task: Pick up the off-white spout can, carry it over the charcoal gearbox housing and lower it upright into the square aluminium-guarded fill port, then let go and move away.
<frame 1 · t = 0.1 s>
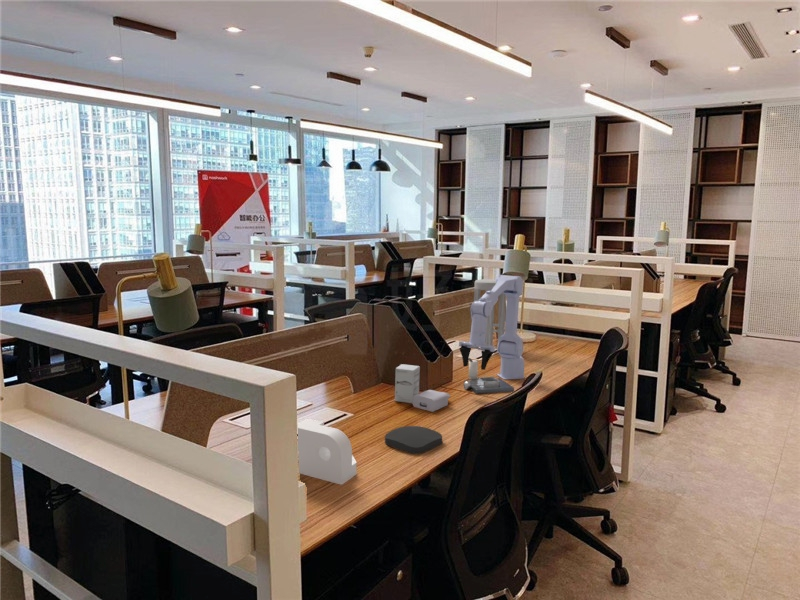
hand: (474, 367, 228), 11 cm above the table, tool pointing down, fingers open, 7 cm apart
charger: (435, 405, 217), on the table
spout can: (473, 378, 252), on the table
supplement box: (406, 400, 222), on the table
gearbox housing: (488, 387, 238), on the table
media streaming box: (413, 443, 181), on the table
stool: (487, 348, 309), on the table
tape dispenser: (327, 471, 160), on the table
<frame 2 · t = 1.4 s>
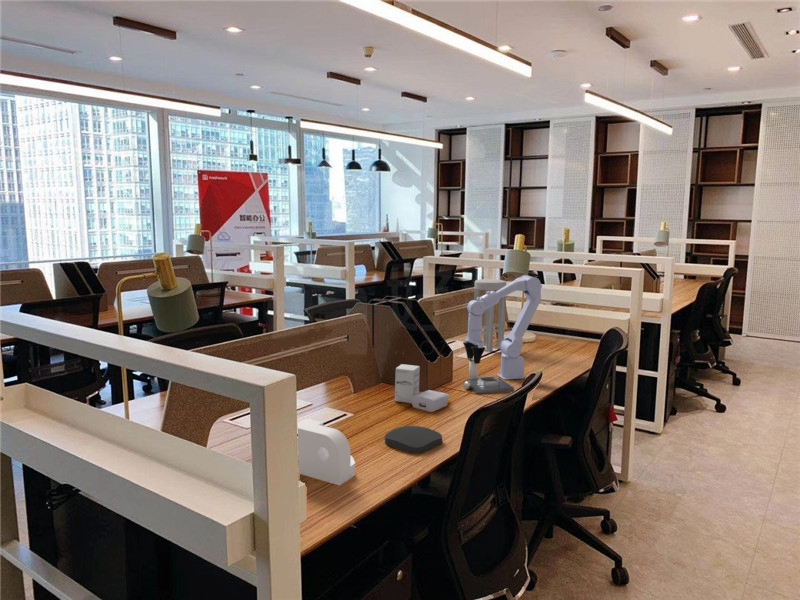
hand: (473, 361, 250), 8 cm above the table, tool pointing down, fingers open, 7 cm apart
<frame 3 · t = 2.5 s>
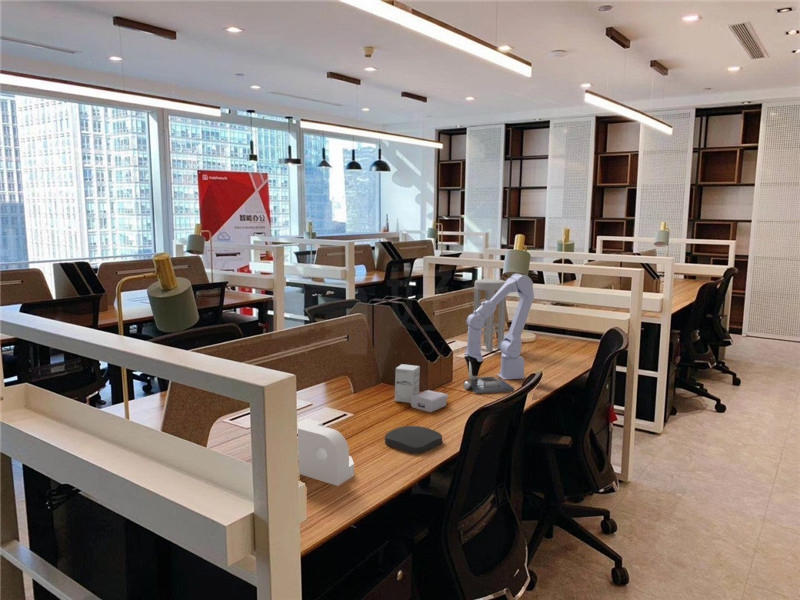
hand: (473, 374, 251), 2 cm above the table, tool pointing down, fingers closed on spout can, 4 cm apart
spout can: (472, 378, 251), on the table, touching gripper
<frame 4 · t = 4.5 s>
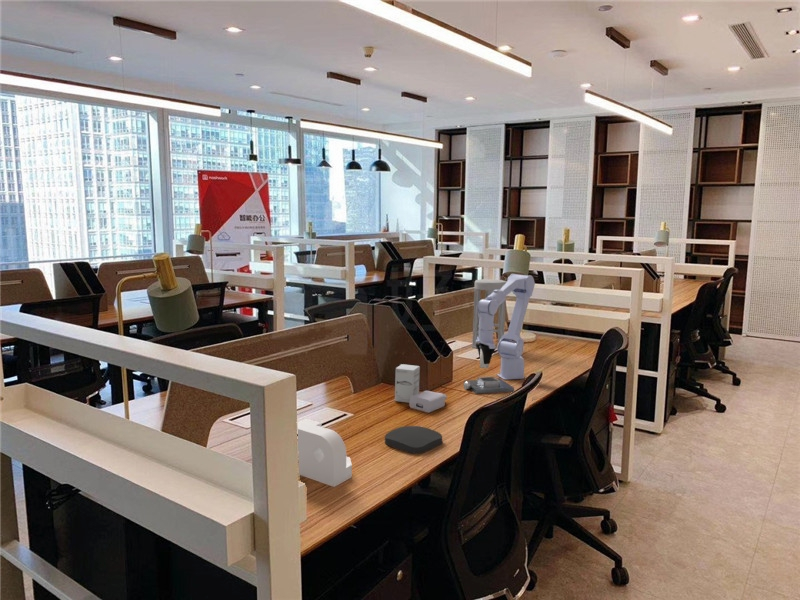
hand: (484, 362, 240), 9 cm above the table, tool pointing down, fingers closed on spout can, 4 cm apart
spout can: (484, 367, 241), point 8 cm above the table, touching gripper
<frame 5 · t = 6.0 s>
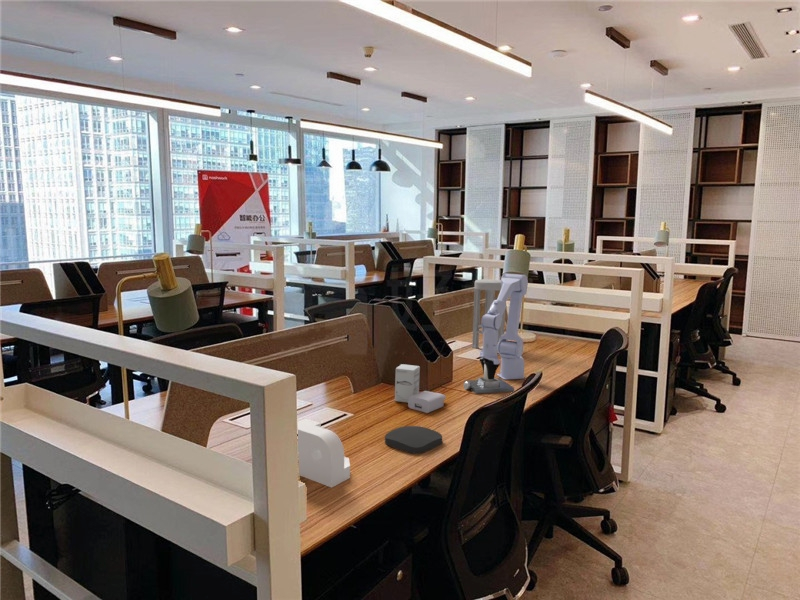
hand: (488, 377, 238), 4 cm above the table, tool pointing down, fingers closed on spout can, 4 cm apart
spout can: (488, 382, 238), point 2 cm above the table, touching gripper
when the fingers open (4 cm above the table, at t = 6.5 s): spout can drops 2 cm, resting in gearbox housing.
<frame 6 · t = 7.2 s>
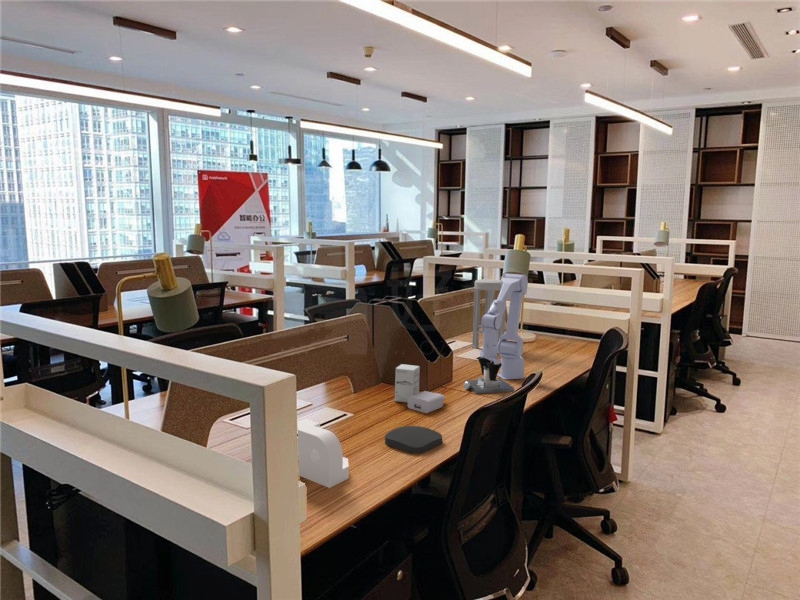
hand: (488, 377, 238), 4 cm above the table, tool pointing down, fingers open, 7 cm apart
spout can: (487, 387, 238), resting in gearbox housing
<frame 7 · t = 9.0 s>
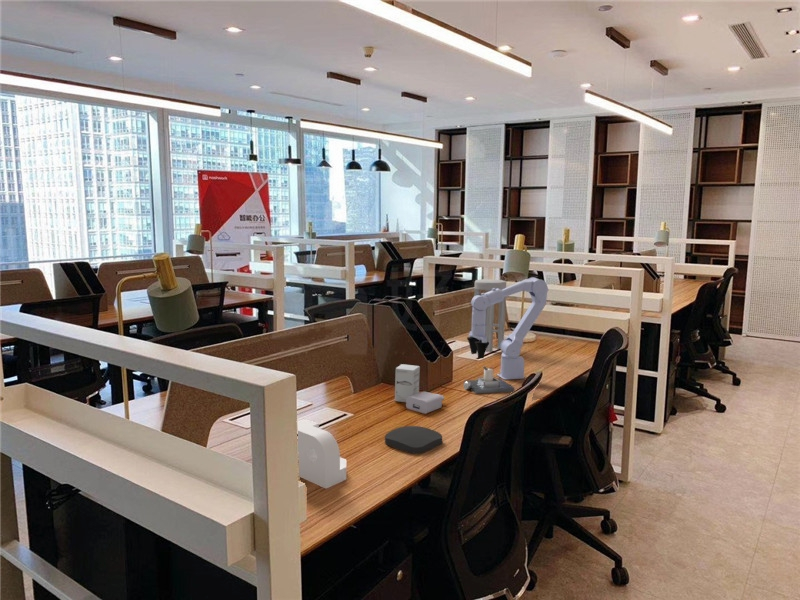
hand: (477, 355, 252), 9 cm above the table, tool pointing down, fingers open, 7 cm apart
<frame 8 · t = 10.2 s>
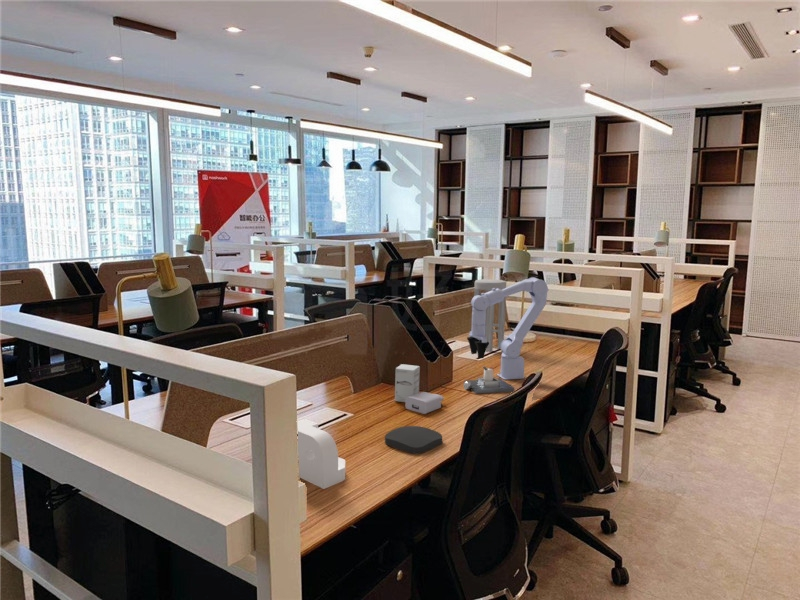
hand: (477, 355, 252), 9 cm above the table, tool pointing down, fingers open, 7 cm apart
at the end: spout can 0.2 cm off-centre on the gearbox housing, point 0.0 cm above the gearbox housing's base; spout can tilted 0°; the gripper is holding nothing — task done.
